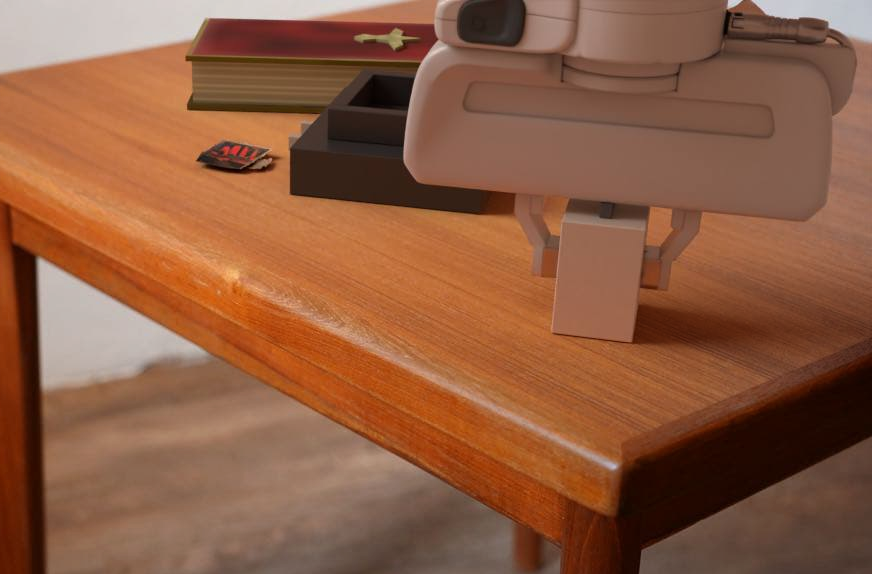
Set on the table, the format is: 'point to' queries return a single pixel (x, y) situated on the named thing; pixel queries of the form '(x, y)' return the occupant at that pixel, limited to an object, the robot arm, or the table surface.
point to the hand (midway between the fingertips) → (599, 279)
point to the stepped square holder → (368, 150)
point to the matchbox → (235, 155)
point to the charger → (599, 269)
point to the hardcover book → (295, 60)
